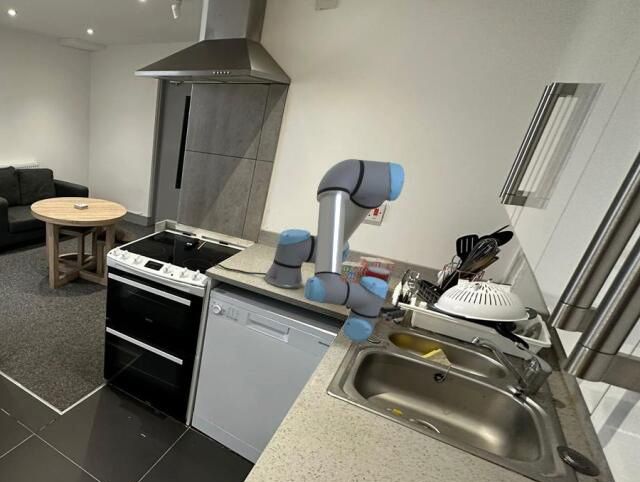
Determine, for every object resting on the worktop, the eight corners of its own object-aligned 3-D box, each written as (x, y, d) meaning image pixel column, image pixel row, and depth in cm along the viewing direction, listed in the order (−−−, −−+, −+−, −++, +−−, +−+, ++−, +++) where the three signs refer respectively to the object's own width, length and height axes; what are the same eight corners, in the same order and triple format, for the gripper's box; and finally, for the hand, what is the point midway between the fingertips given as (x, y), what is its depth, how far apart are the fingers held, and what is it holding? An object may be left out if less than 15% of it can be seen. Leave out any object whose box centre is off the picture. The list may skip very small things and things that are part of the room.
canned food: (382, 298, 165) (392, 274, 160) (361, 294, 167) (370, 270, 163) (379, 292, 171) (387, 268, 167) (358, 288, 174) (367, 265, 169)
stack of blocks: (337, 284, 176) (345, 258, 171) (332, 279, 182) (340, 253, 177) (386, 289, 175) (396, 263, 170) (379, 284, 181) (388, 259, 176)
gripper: (322, 313, 139) (337, 296, 154) (404, 340, 125) (411, 318, 140) (328, 294, 136) (342, 278, 151) (413, 319, 122) (419, 299, 137)
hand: (375, 297), depth 146 cm, fingers open, 13 cm apart
